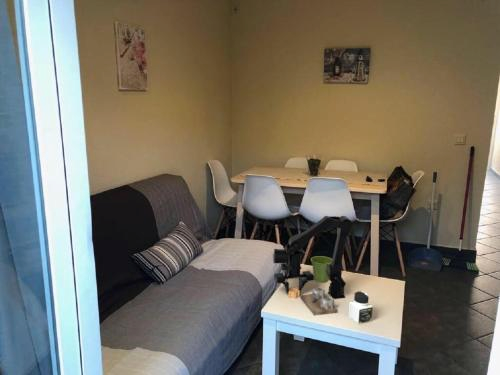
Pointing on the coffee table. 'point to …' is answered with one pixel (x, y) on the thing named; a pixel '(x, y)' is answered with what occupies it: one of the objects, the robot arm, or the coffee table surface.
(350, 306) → the medicine bottle
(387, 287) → the coffee table surface
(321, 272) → the plant pot
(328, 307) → the gear board
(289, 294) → the orange gear
